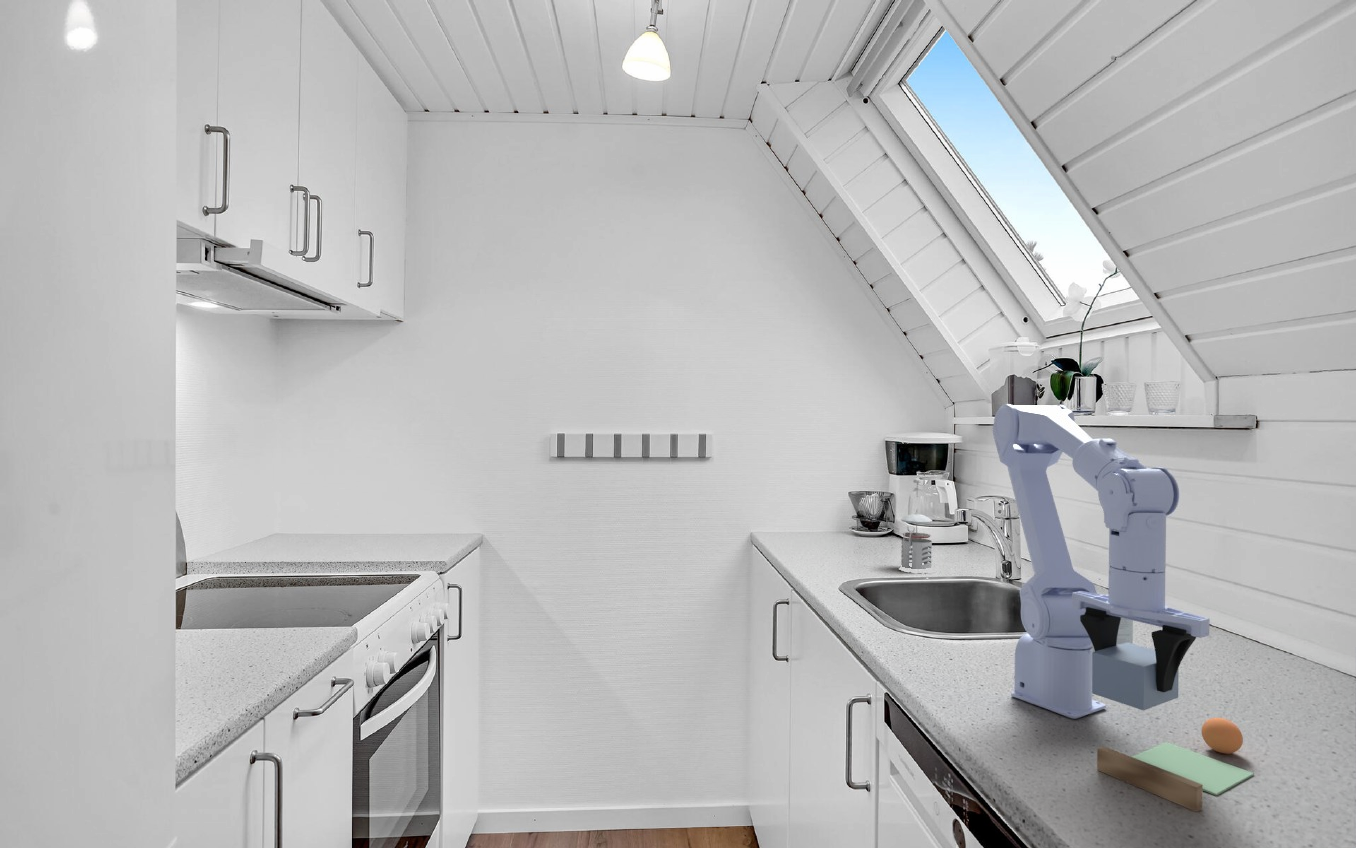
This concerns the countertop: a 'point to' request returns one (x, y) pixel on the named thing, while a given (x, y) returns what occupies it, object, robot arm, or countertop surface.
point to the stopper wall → (1150, 778)
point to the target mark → (1195, 767)
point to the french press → (916, 542)
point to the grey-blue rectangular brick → (1129, 676)
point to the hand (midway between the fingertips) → (1135, 681)
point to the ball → (1222, 735)
